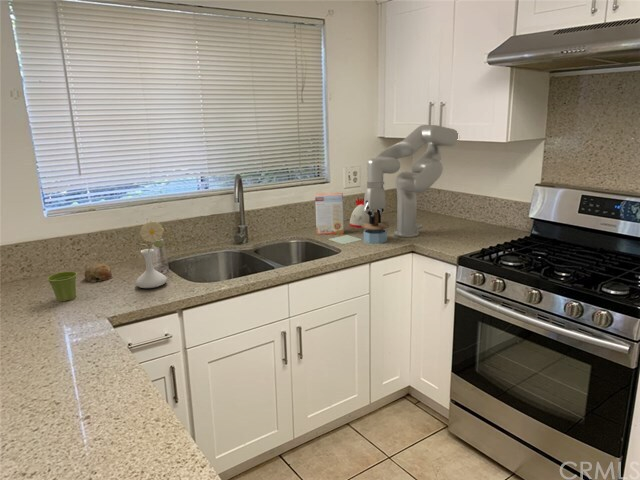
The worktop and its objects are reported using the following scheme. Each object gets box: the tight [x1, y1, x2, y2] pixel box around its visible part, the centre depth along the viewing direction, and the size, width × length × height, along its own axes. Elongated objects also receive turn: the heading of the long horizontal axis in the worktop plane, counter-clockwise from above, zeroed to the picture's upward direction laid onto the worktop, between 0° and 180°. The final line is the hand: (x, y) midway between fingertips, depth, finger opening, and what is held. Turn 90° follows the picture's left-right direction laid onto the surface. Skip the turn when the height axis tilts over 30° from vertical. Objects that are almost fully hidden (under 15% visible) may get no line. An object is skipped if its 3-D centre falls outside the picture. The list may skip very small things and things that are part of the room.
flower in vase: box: [135, 220, 168, 289], centre depth 178 cm, size 13×11×25 cm
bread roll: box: [84, 262, 112, 283], centre depth 191 cm, size 10×10×8 cm
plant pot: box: [46, 271, 78, 302], centre depth 170 cm, size 9×9×9 cm
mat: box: [328, 234, 363, 245], centre depth 235 cm, size 12×12×1 cm
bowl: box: [363, 229, 388, 244], centre depth 231 cm, size 11×11×5 cm
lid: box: [361, 211, 389, 230], centre depth 229 cm, size 13×13×7 cm
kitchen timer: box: [349, 197, 369, 229], centre depth 261 cm, size 14×14×15 cm
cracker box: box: [314, 192, 345, 236], centre depth 245 cm, size 14×6×21 cm, turn 84°
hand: (375, 223), depth 229 cm, fingers closed on lid, 3 cm apart
